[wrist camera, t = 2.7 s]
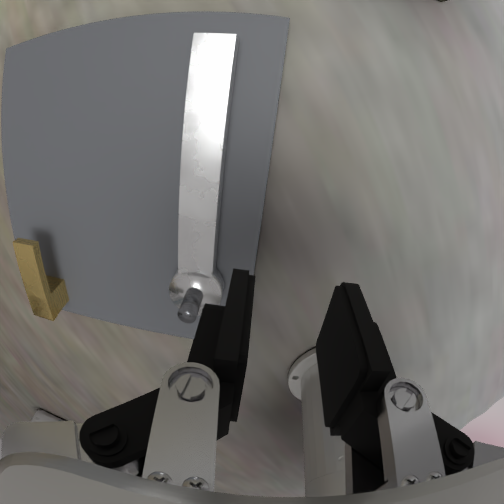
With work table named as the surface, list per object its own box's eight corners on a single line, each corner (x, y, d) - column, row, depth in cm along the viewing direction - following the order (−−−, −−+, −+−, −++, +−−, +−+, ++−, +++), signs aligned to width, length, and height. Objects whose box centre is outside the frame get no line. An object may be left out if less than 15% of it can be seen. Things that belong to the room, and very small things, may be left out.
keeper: (54, 228, 27) (32, 245, 23) (69, 300, 32) (53, 321, 28) (34, 225, 27) (12, 242, 23) (50, 295, 31) (33, 314, 28)
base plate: (288, 22, 19) (289, 17, 17) (244, 337, 34) (243, 346, 33) (15, 48, 19) (6, 48, 17) (37, 294, 34) (31, 300, 32)
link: (222, 305, 30) (214, 341, 25) (175, 298, 30) (160, 331, 25) (251, 40, 18) (246, 24, 14) (188, 38, 18) (168, 24, 14)
